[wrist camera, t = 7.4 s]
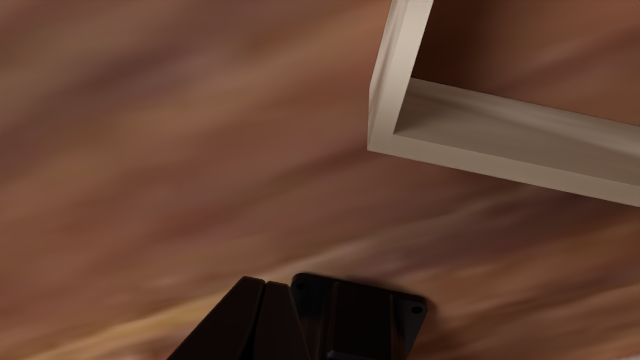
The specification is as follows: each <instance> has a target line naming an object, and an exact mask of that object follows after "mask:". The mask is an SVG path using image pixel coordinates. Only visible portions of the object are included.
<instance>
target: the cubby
mask: <svg viewBox="0 0 640 360" xmlns="http://www.w3.org/2000/svg"><path fill="white" fill-rule="evenodd" d="M432 4H433V0H392V3H391V7H390V11H389V15H388V19H387V22H386V26H385V30H384V34H383V38H382V41H381V45H380V49H379V53H378V57H377V61H376V64H375V68H374V72H373V76H372V80H371V83H370V89H369V116H368V143H367V150H370V151H374V152H379V153H384V154H389V155H393V156H398V157H403V158H408V159H413V160H417V161H422V162H427V163H432V164H436V165H441V166H446V167H451V168H456V169H460V170H465V171H470V172H475V173H479V174H484V175H489V176H494V177H499V178H503V179H508V180H513V181H518V182H522V183H527V184H532V185H537V186H542V187H546V188H551V189H556V190H561V191H565V192H570V193H575V194H580V195H585V196H589V197H594V198H599V199H604V200H608V201H613V202H618V203H623V204H628V205H632V206H637V207H640V126H635V125H630V124H626V123H621V122H616V121H612V120H607V119H602V118H598V117H593V116H588V115H584V114H579V113H574V112H570V111H565V110H560V109H556V108H551V107H546V106H542V105H537V104H532V103H528V102H523V101H518V100H514V99H509V98H504V97H500V96H495V95H490V94H486V93H481V92H476V91H472V90H467V89H462V88H458V87H453V86H448V85H444V84H439V83H434V82H430V81H425V80H420V79H416V78H411V77H410V76H411V72H412V69H413V66H414V63H415V59H416V56H417V53H418V49H419V46H420V43H421V40H422V36H423V33H424V30H425V27H426V23H427V20H428V17H429V13H430V10H431V7H432Z"/></svg>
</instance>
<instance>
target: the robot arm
mask: <svg viewBox="0 0 640 360" xmlns="http://www.w3.org/2000/svg"><path fill="white" fill-rule="evenodd" d="M299 283H304V284H305V285H301V284H299ZM415 306H419V307H415ZM427 310H428V308H427V302H426V300H425V299H424V298H422V297H420V296H415V295H410V294H405V293H400V292H395V291H390V290H385V289H380V288H375V287H370V286H365V285H360V284H355V283H350V282H345V281H340V280H335V279H330V278H325V277H320V276H315V275H310V274H305V273H299V274H296V275H295V276H294V277H293V278H292V282H291V287H289V286H288V285H287V284H283V283H278V282H273V281H268V282H267V283H266V285H265V281H264V280H263V279H258V278H253V277H248V276H244V277H242V278H241V279H240V280H239V281H238V282H237V283H236V284H235V285H234V286H233V288H232V289H231V290H230V291H229V292H228V293H227V294H226V295H225V296H224V297H223V298H222V299H221V301H220V302H219V303H218V304H217V305H216V306H215V307H214V308H213V309H212V310H211V311H210V313H209V314H208V315H207V316H206V317H205V318H204V319H203V320H202V321H201V322H200V323H199V324H198V326H197V327H196V328H195V329H194V330H193V331H192V332H191V333H190V334H189V335H188V336H187V338H186V339H185V340H184V341H183V342H182V343H181V344H180V345H179V346H178V347H177V348H176V349H175V351H174V352H173V353H172V354H171V355H170V356H169V357H168V358H167V359H166V360H406V359H407V357H408V354H409V352H410V350H411V348H412V345H413V343H414V341H415V339H416V336H417V334H418V332H419V330H420V327H421V325H422V323H423V321H424V318H425V316H426V314H427Z"/></svg>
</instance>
